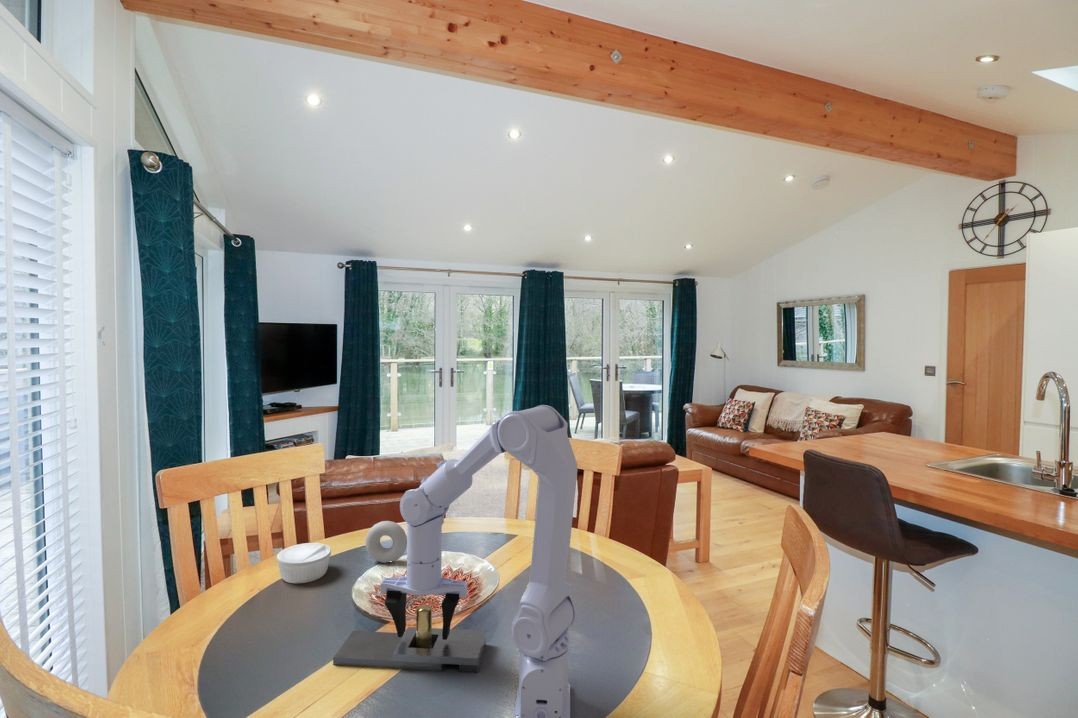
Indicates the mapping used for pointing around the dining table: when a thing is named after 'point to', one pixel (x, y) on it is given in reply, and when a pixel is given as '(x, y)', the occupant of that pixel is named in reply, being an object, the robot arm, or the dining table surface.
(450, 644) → the link
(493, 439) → the robot arm
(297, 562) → the ramekin
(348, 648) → the link
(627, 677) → the dining table surface
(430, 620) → the pin
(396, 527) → the donut
